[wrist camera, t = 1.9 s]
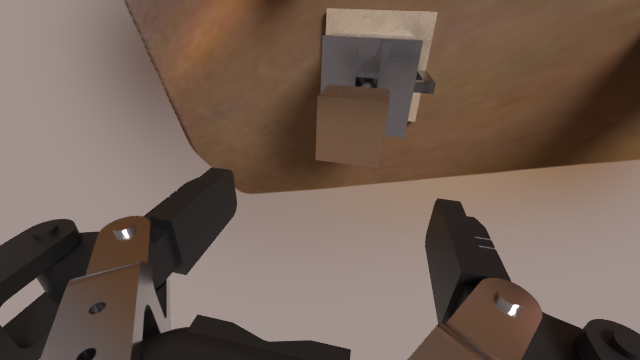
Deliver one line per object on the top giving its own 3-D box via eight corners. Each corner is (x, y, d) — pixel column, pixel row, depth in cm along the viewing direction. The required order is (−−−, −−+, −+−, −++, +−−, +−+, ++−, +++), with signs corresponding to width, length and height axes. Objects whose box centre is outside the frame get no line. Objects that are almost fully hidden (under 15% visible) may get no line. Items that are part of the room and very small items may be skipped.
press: (436, 12, 41) (464, 5, 25) (414, 119, 49) (425, 164, 33) (328, 8, 44) (294, 0, 28) (324, 110, 52) (295, 148, 36)
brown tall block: (403, 49, 34) (418, 79, 16) (393, 109, 38) (396, 188, 19) (344, 46, 35) (295, 70, 17) (339, 104, 39) (296, 175, 21)
